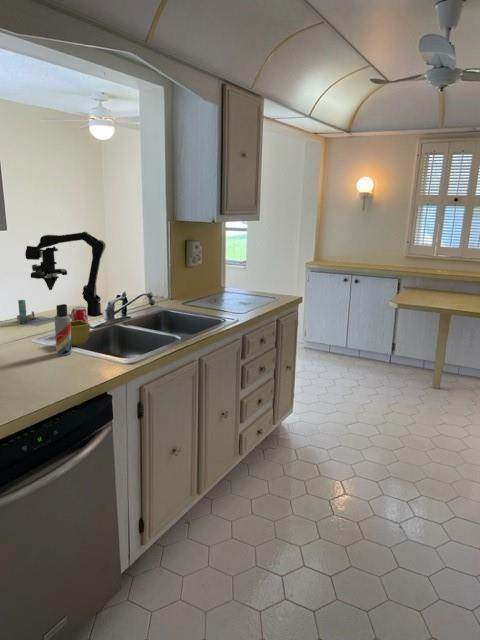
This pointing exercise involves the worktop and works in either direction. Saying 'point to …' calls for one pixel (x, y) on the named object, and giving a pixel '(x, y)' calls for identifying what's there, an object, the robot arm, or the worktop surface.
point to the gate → (23, 312)
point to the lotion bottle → (63, 331)
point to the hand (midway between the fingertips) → (50, 290)
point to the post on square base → (34, 317)
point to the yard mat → (40, 321)
